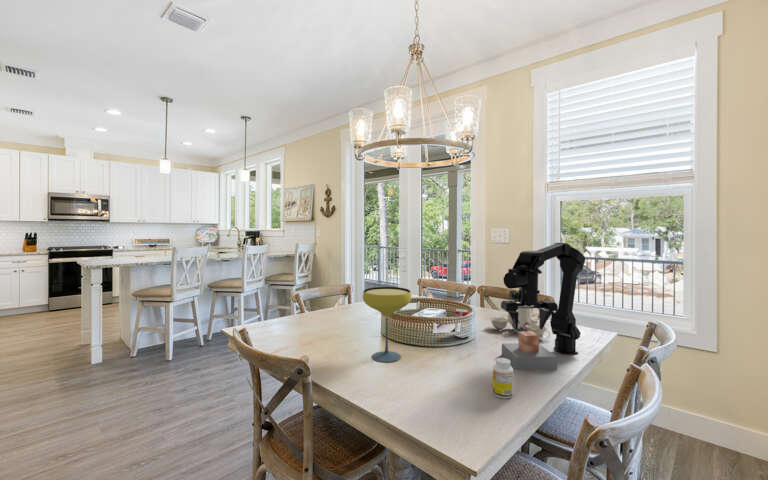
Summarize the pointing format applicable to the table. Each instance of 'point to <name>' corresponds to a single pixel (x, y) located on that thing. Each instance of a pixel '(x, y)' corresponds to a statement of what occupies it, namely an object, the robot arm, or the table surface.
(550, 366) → the gray block
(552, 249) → the robot arm
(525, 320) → the chinaware
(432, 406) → the table surface
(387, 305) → the cocktail glass
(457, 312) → the soda can
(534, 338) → the terracotta cube
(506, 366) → the supplement bottle
